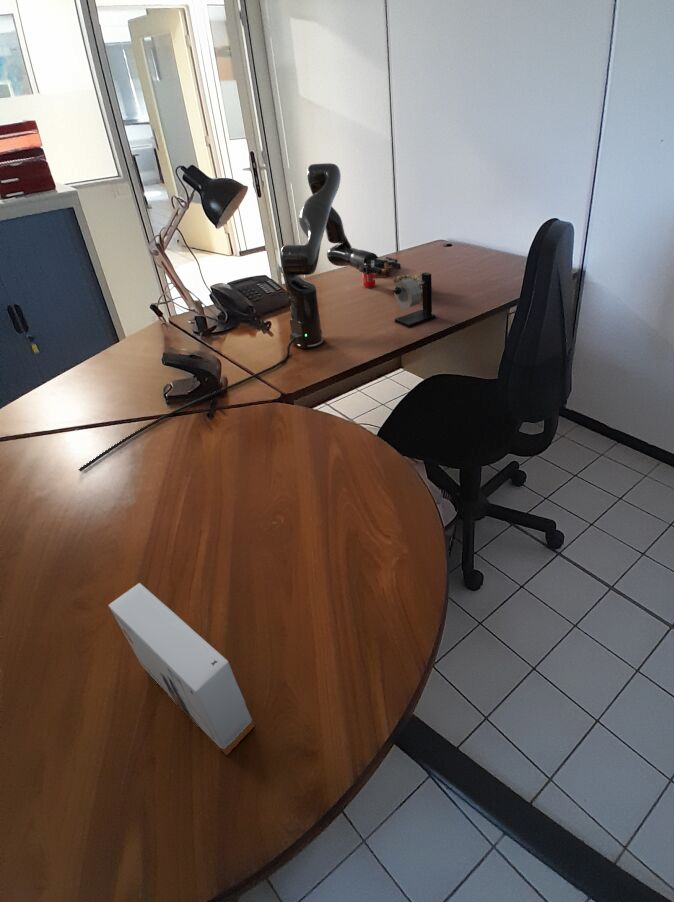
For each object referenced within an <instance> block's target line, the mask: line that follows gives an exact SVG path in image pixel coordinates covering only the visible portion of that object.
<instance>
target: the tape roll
mask: <svg viewBox="0 0 674 902" xmlns="http://www.w3.org/2000/svg"><path fill="white" fill-rule="evenodd" d="M395 283H396V282H395ZM396 287H404V288H405V289H406V291H403V292H401V293H400V294H395V293H393V294H394V298H395V301H396V303H397V304H398V305H399V307H400V308H402V309H409V308H411V307H415V306H418V305H420V303H421V300H422V294H421V289H420V286H419V285H418V283H417V282H416V281H415V280H414V279H411V278H409V279H405V280H402V281H399V282H397V283H396V285H395V287H393V290H394V289H395V288H396Z"/></svg>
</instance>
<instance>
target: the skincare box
mask: <svg viewBox="0 0 674 902" xmlns="http://www.w3.org/2000/svg"><path fill="white" fill-rule="evenodd" d="M108 608H109V609H110V611H111V613H112V615H113V616H114V618H115V620H116V622H117V623H118V626H119V627H120V629H121V631H122V632H123V634H124V636H125V638H126V641H127V642H128V643H129V645H130V647H131V648H132V651H133V652H134V654H135V657H136V658H137V660H138V662H139V663H140V665H141V667H142V666H143V667H142V669H143V668H144V669H145V670H146V671H147V672H148V673H149V674H150V676H151V677H152V678H153V679H154V680H155V681H156V682H157V683H158V684H159V685H160V686H161V687H162V688H163V689H164V690H165V691H166V692H167V693H168V695H169V696H170V697H171V698H172V699H173V700H174V701H175V702H176V703H177V704H178V705H179V706H180V707H181V708H182V709H183V710H184V711H185V712H186V713H187V714H188V715H189V716H190V717H191V718H192V719H193V721H195V723H196V724H197V725H198V726H199V727H200V728H201V729H202V730H203V731H204V732H205V733H206V734H207V735H208V736H209V737H210V738H211V739H212V740H213V741H214V742H215V743H216V744H217V745H218V746H219V747H220V748H222V749H225V748H226V747H227V746H228V745H230V744H231V743H232V742H233V741H234V740H235V739H236V737H238V736H239V734H240V733H241V732H243V730H244V729H245V728H246V727H247V726H248V725H249V724H250V723H251V721H252V720H253V717H252V716H251V714H250V712H249V709H248V707H247V705H246V700H245V699H244V696H243V693H242V691H241V689H240V687H239V685H238V683H237V679H236V677H235V675H234V673H233V670H232V667H231V664H230V662H229V661H228V660H227V658H226V657H224V656H223V655H222V654H221V653H220V652H219V651H217V650H216V649H215V648H214V647H213V646H211V645H210V644H209V642H207V641H206V639H205V638H203V637H201V635H200V634H198V633H197V632H196V631H195V630H193V628H191V626H190V625H188V624H187V623H186V622H185V621H184V620H183V619H182V618H180V617H179V616H178V615H177V614H176V613H175V612H173V610H171V609H170V608H169V607H168V606H167V605H166V604H165V603H163V602H162V601H161V600H160V599H159V598H158V597H156V595H155V594H153V593H152V592H151V591H150V590H149V589H147V588H146V587H145V586H144V584H142V583H140V582H138V583H137V584H136V585H134V586H133V587H132V588H130V589H128V590H126V591H125V592H124V593H123V594H121V595H120V596H119V597H117V598H116V599H115V600H113V601H112V602H110V603H109V604H108ZM144 669H143V670H144ZM150 676H149V677H150ZM151 677H150V678H151ZM152 678H151V679H152ZM153 679H152V680H153ZM154 680H153V681H154ZM155 681H154V682H155ZM156 682H155V683H156ZM157 683H156V684H157ZM168 695H167V696H168ZM169 696H168V697H169ZM170 697H169V698H170ZM171 698H170V699H171ZM172 699H171V700H172ZM173 700H172V701H173ZM174 701H173V702H174ZM175 702H174V703H175ZM176 703H175V704H176ZM177 704H176V705H177ZM193 721H192V722H193ZM195 723H194V724H195ZM196 724H195V725H196ZM197 725H196V726H197ZM198 726H197V727H198Z"/></svg>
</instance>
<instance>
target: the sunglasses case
mask: <svg viewBox="0 0 674 902" xmlns="http://www.w3.org/2000/svg"><path fill="white" fill-rule="evenodd" d="M389 266H391V265H389ZM385 267H386V263H385ZM390 271H391V268H388V269H382V275H378V274H375V278H387V277H388V276H389V275H390Z"/></svg>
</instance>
